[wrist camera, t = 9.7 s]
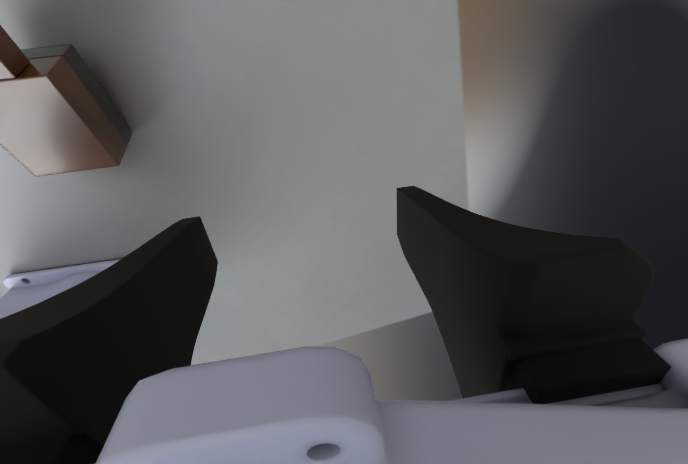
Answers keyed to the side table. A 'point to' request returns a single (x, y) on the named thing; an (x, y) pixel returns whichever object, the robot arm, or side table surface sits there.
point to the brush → (56, 111)
